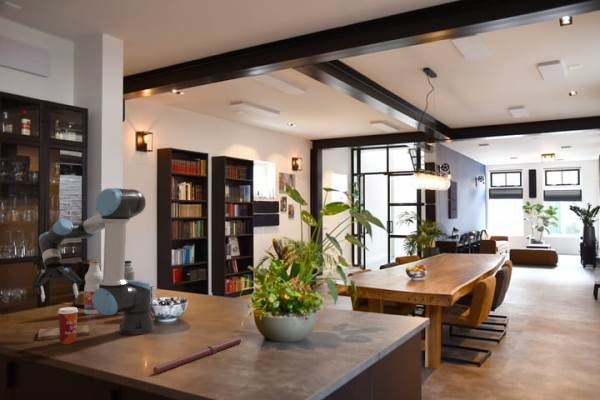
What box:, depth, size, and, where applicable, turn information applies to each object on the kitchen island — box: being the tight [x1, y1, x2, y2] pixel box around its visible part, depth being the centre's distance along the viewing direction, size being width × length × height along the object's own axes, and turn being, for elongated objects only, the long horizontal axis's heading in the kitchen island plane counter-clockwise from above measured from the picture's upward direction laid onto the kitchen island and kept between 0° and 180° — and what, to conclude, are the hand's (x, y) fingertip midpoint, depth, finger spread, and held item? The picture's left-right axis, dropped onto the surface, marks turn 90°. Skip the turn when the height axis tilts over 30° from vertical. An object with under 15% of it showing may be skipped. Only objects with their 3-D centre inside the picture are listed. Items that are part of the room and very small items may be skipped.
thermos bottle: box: [117, 260, 135, 316], centre depth 257 cm, size 8×8×28 cm
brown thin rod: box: [152, 336, 242, 375], centre depth 180 cm, size 45×3×3 cm, turn 148°
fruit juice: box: [83, 259, 103, 315], centre depth 258 cm, size 9×9×28 cm
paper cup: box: [57, 306, 79, 345], centre depth 200 cm, size 8×8×14 cm
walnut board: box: [37, 324, 90, 341], centre depth 213 cm, size 20×14×2 cm
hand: (60, 298), depth 209 cm, fingers open, 13 cm apart
